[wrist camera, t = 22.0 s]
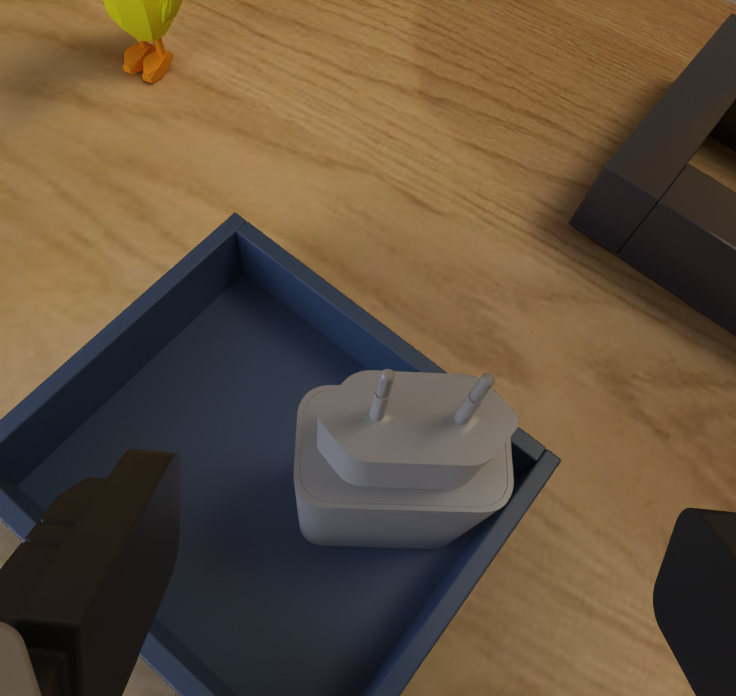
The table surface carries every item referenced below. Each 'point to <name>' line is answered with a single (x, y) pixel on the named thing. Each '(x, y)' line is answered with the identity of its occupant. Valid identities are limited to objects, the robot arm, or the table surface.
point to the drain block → (676, 188)
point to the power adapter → (401, 458)
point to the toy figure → (145, 33)
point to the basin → (250, 476)
